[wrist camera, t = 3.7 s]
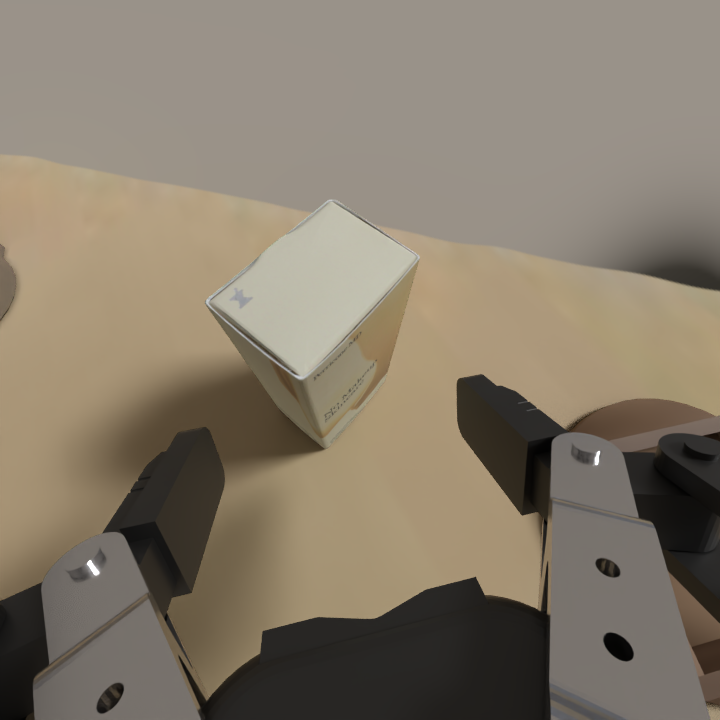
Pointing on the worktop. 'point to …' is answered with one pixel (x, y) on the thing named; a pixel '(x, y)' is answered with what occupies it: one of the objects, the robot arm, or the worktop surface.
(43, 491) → the worktop surface
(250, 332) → the skincare box
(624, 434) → the walnut stand
